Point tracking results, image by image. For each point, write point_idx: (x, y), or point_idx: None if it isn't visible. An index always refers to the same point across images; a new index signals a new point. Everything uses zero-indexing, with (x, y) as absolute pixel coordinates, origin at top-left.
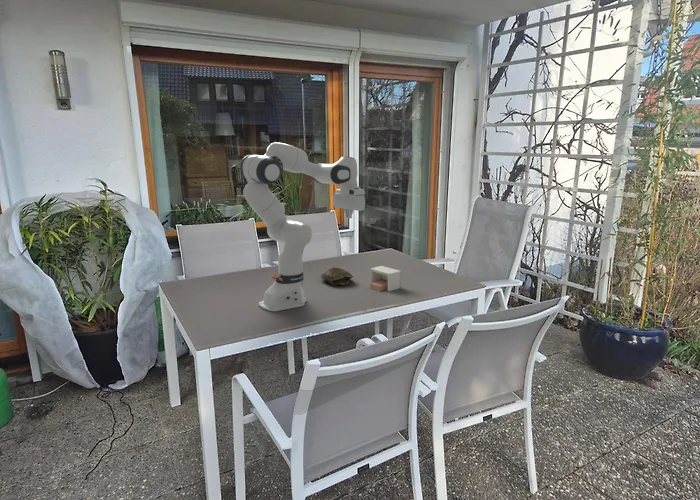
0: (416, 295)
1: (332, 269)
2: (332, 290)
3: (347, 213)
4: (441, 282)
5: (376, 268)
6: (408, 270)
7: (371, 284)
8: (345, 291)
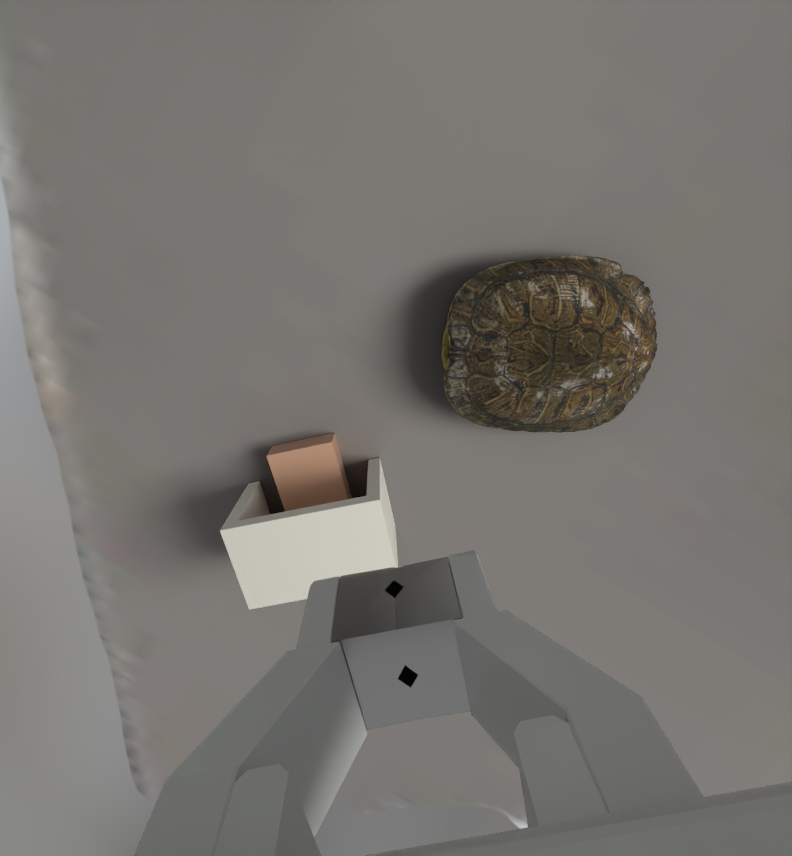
0: (143, 549)
1: (580, 331)
2: (406, 235)
3: (481, 694)
4: None
5: (361, 530)
6: None
7: (324, 442)
8: (352, 292)
